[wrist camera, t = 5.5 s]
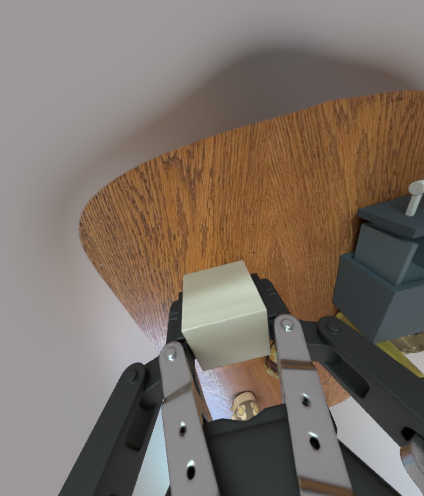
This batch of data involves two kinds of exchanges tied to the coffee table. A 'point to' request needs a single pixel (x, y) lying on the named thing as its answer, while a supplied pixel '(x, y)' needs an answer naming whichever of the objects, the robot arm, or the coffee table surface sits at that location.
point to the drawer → (394, 238)
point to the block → (224, 316)
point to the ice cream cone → (272, 363)
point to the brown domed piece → (244, 407)
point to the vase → (387, 349)
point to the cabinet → (378, 302)
